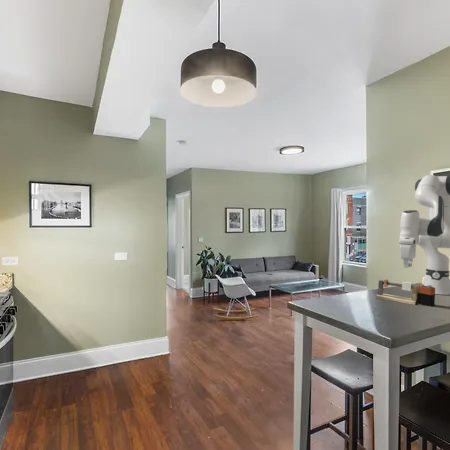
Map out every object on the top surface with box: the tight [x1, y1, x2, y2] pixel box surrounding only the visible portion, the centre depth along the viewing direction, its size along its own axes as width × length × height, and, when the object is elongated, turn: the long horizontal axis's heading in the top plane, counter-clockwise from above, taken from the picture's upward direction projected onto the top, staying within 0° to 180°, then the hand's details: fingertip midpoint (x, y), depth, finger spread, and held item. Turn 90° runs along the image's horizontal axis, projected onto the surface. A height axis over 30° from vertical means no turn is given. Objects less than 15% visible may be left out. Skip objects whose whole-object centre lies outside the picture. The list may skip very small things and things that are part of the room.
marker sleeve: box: [401, 281, 413, 292], centre depth 161 cm, size 4×4×4 cm
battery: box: [416, 283, 436, 307], centre depth 156 cm, size 4×7×10 cm, turn 37°
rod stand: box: [375, 279, 418, 306], centre depth 164 cm, size 10×18×10 cm, turn 49°
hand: (407, 267), depth 160 cm, fingers open, 8 cm apart
